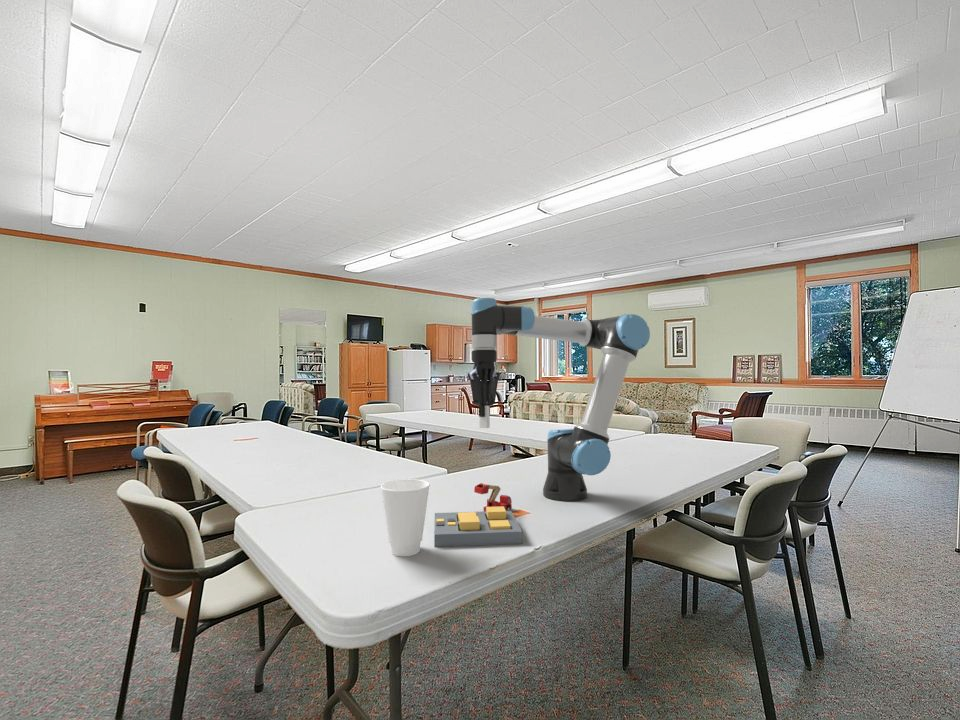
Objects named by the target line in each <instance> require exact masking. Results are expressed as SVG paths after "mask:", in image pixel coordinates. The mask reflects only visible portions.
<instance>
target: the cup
mask: <svg viewBox="0 0 960 720" xmlns="http://www.w3.org/2000/svg"><path fill="white" fill-rule="evenodd" d="M430 486H431V484H430V483H429V482H428V481H426V480H422V479H413V478H411V479H410V478H409V479H408V478H407V479H406V478H405V479H395V480H391V481H390V480H389V481H386V482H384V483H382V484H381V485H380V490H381V496H382V497H381V498H382V504H383V511H384V519H385V526H386V532H387V533H386V534H387V540H388V543H389V546H390V547H389V548H390V553H391V554H392V555H393V556H395V557H410V556H414V555H417V554H419V553H420V550H421V544H422V543H421V542H422V540H423V535H424V528H425V527H424V526H425V521H426V513H427V504H428V498H429V490H430Z"/></svg>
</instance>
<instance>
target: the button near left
mask: <svg viewBox="0 0 960 720" xmlns="http://www.w3.org/2000/svg"><path fill="white" fill-rule="evenodd" d="M489 528H490V530H499V529H511V526H510V523H509V521H508V520H492V521H489Z"/></svg>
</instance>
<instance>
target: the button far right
mask: <svg viewBox="0 0 960 720" xmlns="http://www.w3.org/2000/svg"><path fill="white" fill-rule="evenodd" d="M461 512H462V513H458V521H459V516H477V515H476V512H477V511H461Z"/></svg>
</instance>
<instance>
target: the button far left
mask: <svg viewBox="0 0 960 720" xmlns="http://www.w3.org/2000/svg"><path fill="white" fill-rule="evenodd" d="M506 511H507V510H505V508H504V506H501V507H486V515H487V518H488V520H489V519H490V520H502V519H506Z"/></svg>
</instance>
